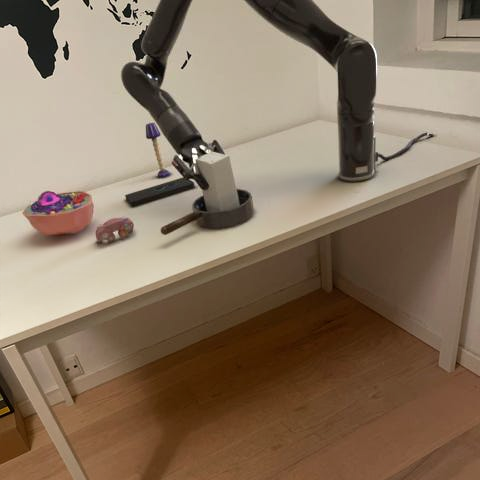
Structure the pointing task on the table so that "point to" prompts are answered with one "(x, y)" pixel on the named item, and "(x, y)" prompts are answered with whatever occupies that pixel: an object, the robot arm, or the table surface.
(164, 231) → the pan handle
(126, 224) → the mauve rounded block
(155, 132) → the toy lamp
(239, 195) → the pan
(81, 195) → the cell model
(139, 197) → the smart home device
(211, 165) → the cosmetic box
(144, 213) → the table surface
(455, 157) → the table surface
